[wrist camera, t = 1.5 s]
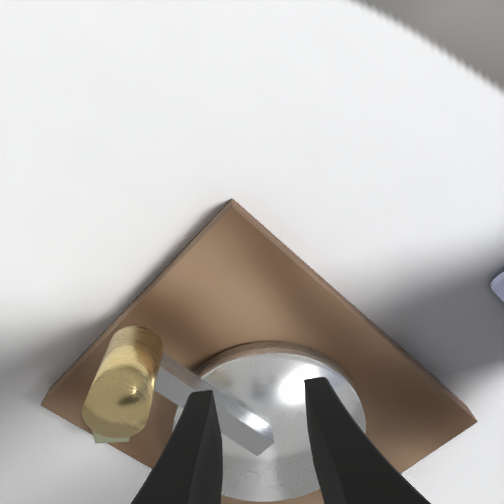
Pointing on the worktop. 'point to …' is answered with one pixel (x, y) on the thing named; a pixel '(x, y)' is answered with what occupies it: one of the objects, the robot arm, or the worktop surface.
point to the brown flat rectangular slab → (268, 329)
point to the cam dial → (225, 405)
